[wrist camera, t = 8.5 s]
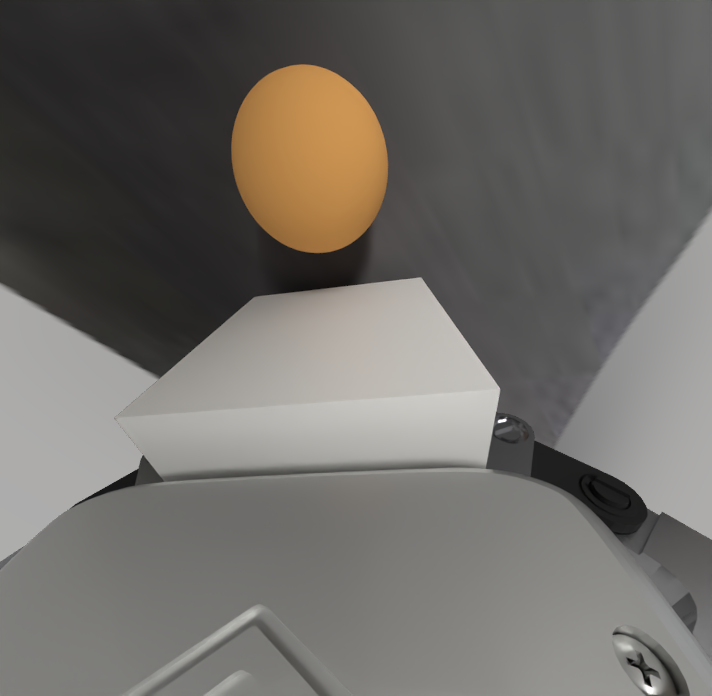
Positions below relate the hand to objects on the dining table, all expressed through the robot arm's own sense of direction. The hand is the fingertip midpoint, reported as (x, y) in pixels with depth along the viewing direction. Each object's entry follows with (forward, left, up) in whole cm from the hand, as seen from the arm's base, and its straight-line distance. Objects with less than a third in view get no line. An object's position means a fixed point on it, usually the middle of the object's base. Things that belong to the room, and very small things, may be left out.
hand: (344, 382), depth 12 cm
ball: (-8, 0, -1) cm, 8 cm away
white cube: (0, 0, -2) cm, 2 cm away
